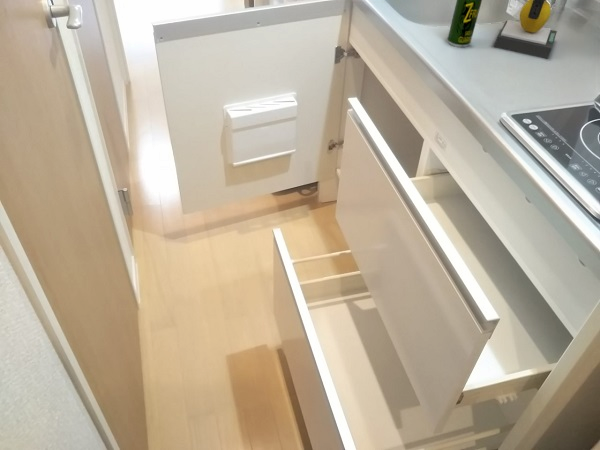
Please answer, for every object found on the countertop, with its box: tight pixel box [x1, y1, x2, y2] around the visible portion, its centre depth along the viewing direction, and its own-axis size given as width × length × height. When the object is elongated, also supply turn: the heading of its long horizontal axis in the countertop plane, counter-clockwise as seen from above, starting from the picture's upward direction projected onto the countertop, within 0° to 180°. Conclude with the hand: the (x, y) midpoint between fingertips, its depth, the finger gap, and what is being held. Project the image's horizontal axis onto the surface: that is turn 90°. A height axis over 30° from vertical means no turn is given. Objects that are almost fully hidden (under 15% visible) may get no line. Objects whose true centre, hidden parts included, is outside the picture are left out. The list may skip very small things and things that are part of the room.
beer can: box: [447, 0, 483, 48], centre depth 118 cm, size 5×5×12 cm
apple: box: [519, 0, 552, 33], centre depth 119 cm, size 6×6×8 cm
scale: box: [494, 19, 558, 59], centre depth 122 cm, size 12×11×3 cm
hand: (535, 12), depth 118 cm, fingers open, 8 cm apart
